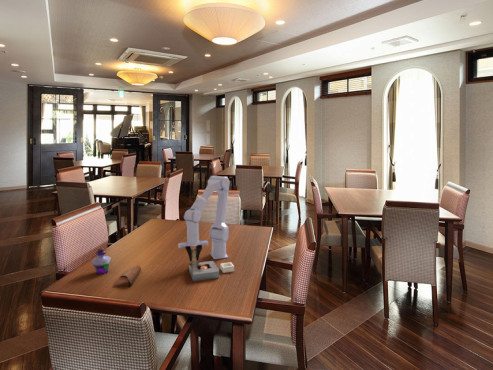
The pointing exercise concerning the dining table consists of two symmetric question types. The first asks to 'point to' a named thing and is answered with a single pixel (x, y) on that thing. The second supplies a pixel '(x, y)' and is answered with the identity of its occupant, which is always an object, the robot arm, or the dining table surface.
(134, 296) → the dining table surface
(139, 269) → the sunglasses case
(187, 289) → the dining table surface
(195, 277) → the grey square frame block
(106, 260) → the potion bottle
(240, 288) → the dining table surface
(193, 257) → the tan cylinder
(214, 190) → the robot arm
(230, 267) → the holder
